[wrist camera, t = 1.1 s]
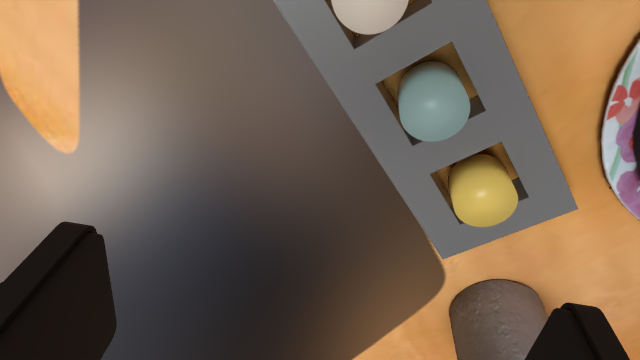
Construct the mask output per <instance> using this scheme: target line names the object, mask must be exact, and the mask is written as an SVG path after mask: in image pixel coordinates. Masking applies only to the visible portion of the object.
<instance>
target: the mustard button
mask: <svg viewBox="0 0 640 360" xmlns="http://www.w3.org/2000/svg"><path fill="white" fill-rule="evenodd" d="M448 187H449V191H450V195H451V199H452V203H453V207H454V211H455V213H456V215H457V217H458V218H459V219H460V220H461V221H463V222H464V223H466V224H468V225H471V226H475V227H489V226H494V225H497V224H499V223H501V222H503V221H505V220H506V219H507V218H509V217H510V216H511V215H512V214H513V212H514V211H515V209H516V207H517V204H518V195H517V192H516V189H515V187H514V185H513V183H512V181H511V179H510V176H509V174H508V172H507V170H506V168H505V166H504V164H503V163H502V162H501V161H500V160H499V159H497V158H495V157H493V156H490V155H484V154H478V155H472V156H469V157H466V158H464V159H462V160H460V161H459V162H458V163H457V164H455V165H454V167H453V168H452V169H451V171H450V173H449V176H448Z"/></svg>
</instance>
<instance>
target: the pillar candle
mask: <svg viewBox="0 0 640 360" xmlns="http://www.w3.org/2000/svg"><path fill="white" fill-rule="evenodd" d="M449 316H450V321H451V328H452V334H453V338H454V343H455V349H456V354H457V359H458V360H525V358H526V356H527V354H528V353H529V351H530V349H531V347H532V346H533V344H534V342H535V341H536V339H537V337H538V335H539V334H540V332H541V330H542V328H543V327H544V325H545V323H546V322H547V320H548V316H547V314H546V311H545V309H544V306H543V304H542V302H541V300H540V298H539V296H538V294H537V293H536V292H535V291H534V290H533V289H531V288H530V287H527V286H524V285H522V284H519V283H516V282H512V281H508V280H499V279H497V280H488V281H484V282H480V283H476V284H474V285H472V286H470V287H468V288H466V289H465V290H464V291H462V292H461V293H460V294H458V295H457V297H456V298H455V299H454V301H453V303H452V305H451V307H450V310H449Z"/></svg>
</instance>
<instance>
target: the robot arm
mask: <svg viewBox="0 0 640 360" xmlns="http://www.w3.org/2000/svg"><path fill="white" fill-rule="evenodd" d="M115 330H116V315H115V309H114V302H113V296H112V290H111V283H110V276H109V270H108V263H107V257H106V250H105V244H104V239H103V236H102V235H100V234H97V232H96V229H95V228H94V227H93V226H89V225H83V224H77V223H71V222H62V223H60V224H59V225H58V226H57V227H55V229H54V230H53V231H52V232H51V233H50V234H49V235H48V236H47V237H46V238H45V239H44V240H43V241H42V242H41V243H40V244H39V245H38V246H37V247H36V248H35V250H33V252H32V253H31V254H30V255H29V256H28V257H27V258H26V259H25V260H24V261H23V262H22V263H21V264H20V265H19V266H18V267H17V268H16V269H15V270H14V271H13V272H12V273H11V274H10V275H9V276H8V278H7V279H6V280H5V281H4V282H2V283H0V360H100V359H101V358H102V356H103V354H104V352H105V351H106V349H107V348H108V346H109V344H110V342H111V341H112V338H113V337H114V334H115ZM525 360H630V359H629V357H628V355H627V354H626V352H625V350H624V349H623V347H622V345H621V343H620V342H619V340H618V338H617V336H616V335H615V333H614V331H613V329H612V328H611V326H610V324H609V322H608V321H607V319H606V317H605V315H604V314H603V312H602V311H601V310H600V309H599V308H597V307H592V306H586V305H580V304H574V303H565V304H563V305H562V307H561V308H556V309H554V310H553V311H552V313H551V315H550V316H549V318H548V320H547V322H546V323H545V325H544V327H543V328H542V330H541V332H540V334H539V335H538V337H537V339H536V341H535V342H534V344H533V346H532V347H531V349H530V351H529V353H528V354H527V356H526V358H525Z"/></svg>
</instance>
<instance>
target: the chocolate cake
mask: <svg viewBox="0 0 640 360" xmlns="http://www.w3.org/2000/svg"><path fill="white" fill-rule="evenodd" d="M600 133H601V135H602V136H601V139H600V140H599V141H600V143H601V146H602V153H601V160H602V165H603V170H604V178H605V179H606V181H607V182H609V184H610V187H609V188H610V189H612V191H613V192H614V193H615V195H616V196H617V198H618V199H619V200H620V202H621V203H622V205H623V206H624V207H626V208H627V210H628V211H629V212H630V213H631V214H632V215H634V216H635V217H636V218H638V220H640V37H639V38H638V39H637V41H636V43H635V45H634V47H633V48H632V49H631V50H630V53H629V55H628V58H627V60H626V61H625V62H624V63H623V64H622V66H621V67H620V69H619V71H618V74H617V77H616V79H615V81H614V83H613V84H612V86H611V92H610V94H609V96H608V99H607V107H606V110H605V114H604V120H603V125H602V129H601V132H600Z"/></svg>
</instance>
